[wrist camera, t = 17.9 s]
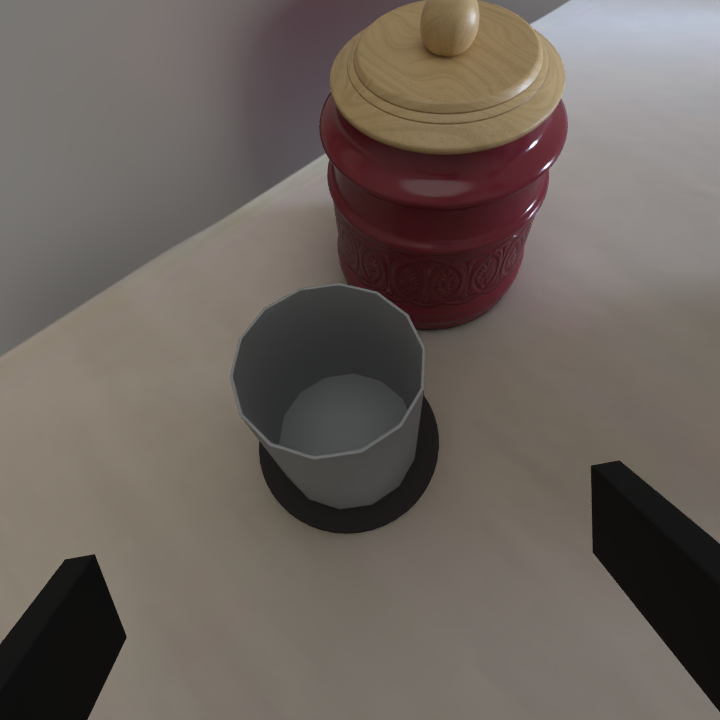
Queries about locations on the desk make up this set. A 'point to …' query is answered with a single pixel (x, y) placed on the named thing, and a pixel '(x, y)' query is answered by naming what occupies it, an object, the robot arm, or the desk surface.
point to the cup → (333, 391)
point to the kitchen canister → (441, 154)
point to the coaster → (363, 515)
